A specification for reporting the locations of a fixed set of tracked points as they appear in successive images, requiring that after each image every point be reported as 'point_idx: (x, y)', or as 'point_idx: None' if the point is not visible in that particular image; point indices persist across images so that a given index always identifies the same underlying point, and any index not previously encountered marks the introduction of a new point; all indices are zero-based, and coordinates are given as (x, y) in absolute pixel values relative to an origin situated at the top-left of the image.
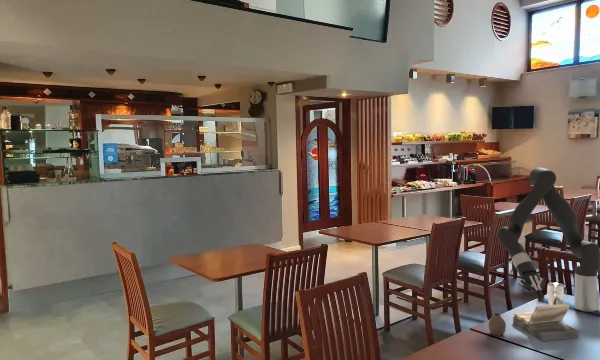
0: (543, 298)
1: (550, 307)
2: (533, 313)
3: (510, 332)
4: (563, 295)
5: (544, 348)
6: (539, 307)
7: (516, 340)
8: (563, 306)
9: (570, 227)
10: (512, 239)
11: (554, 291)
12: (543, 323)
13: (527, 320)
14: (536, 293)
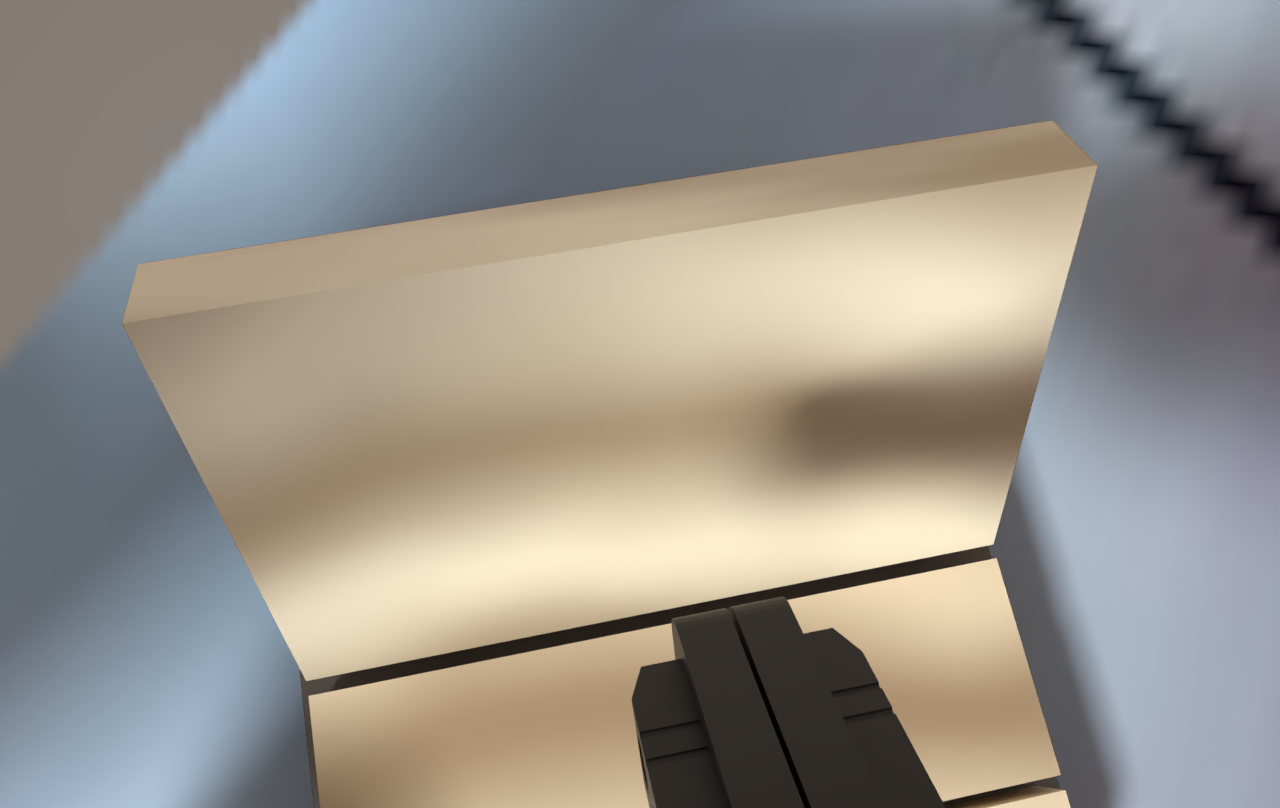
0: (691, 623)
1: (713, 184)
2: (1038, 338)
3: (1218, 564)
4: None
5: (927, 47)
6: (1010, 159)
7: (1206, 285)
8: (332, 240)
9: None
10: None
11: None
12: (672, 608)
13: (993, 603)
14: (914, 767)
